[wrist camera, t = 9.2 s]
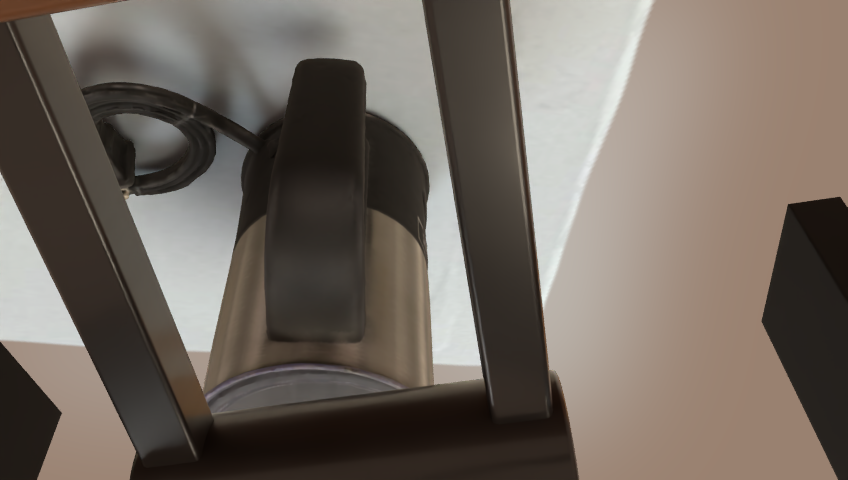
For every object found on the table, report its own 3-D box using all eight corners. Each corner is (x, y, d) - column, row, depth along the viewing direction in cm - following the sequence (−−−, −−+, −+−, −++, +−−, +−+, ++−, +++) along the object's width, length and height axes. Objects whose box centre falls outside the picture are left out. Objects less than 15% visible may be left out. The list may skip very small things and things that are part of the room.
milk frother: (447, 232, 40) (471, 491, 29) (173, 289, 42) (99, 550, 31) (370, -19, 30) (362, 226, 19) (21, 72, 32) (-164, 337, 22)
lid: (-1104, 59, 4) (-229, 797, 8) (1533, -463, 3) (1047, 683, 7) (92, -130, 18) (193, 164, 22) (613, -231, 17) (625, 96, 21)
